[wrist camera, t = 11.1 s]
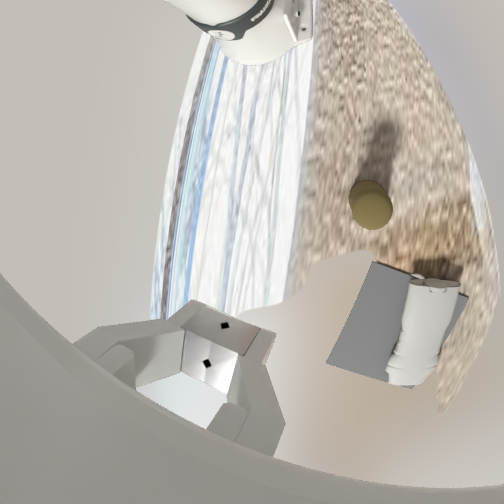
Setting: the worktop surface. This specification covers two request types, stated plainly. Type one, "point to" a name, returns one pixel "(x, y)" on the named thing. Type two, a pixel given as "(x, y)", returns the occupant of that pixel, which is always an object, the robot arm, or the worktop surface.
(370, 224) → the cork
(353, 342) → the mat
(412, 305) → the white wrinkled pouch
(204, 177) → the worktop surface
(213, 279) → the worktop surface
